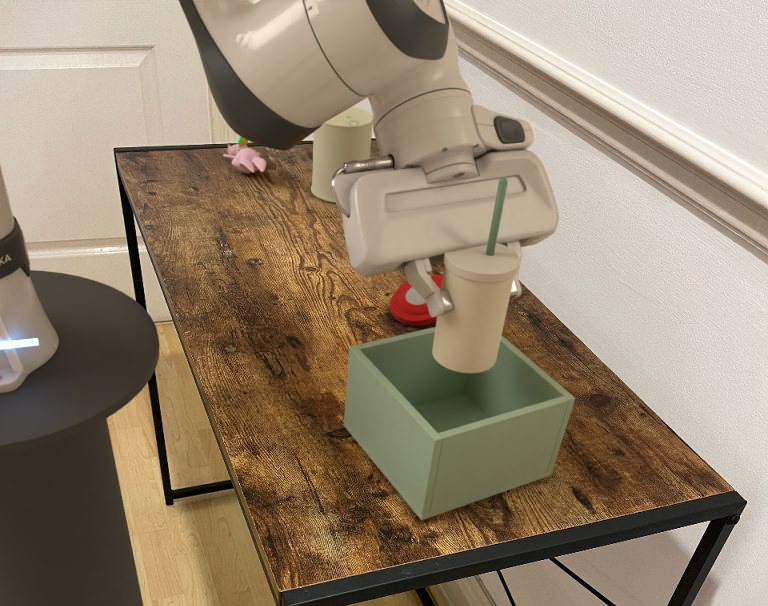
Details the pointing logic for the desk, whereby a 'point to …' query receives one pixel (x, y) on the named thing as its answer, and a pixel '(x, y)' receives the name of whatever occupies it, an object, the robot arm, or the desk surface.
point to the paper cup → (476, 300)
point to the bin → (452, 421)
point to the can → (339, 147)
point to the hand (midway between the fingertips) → (478, 306)
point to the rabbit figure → (245, 157)
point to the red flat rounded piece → (412, 304)
